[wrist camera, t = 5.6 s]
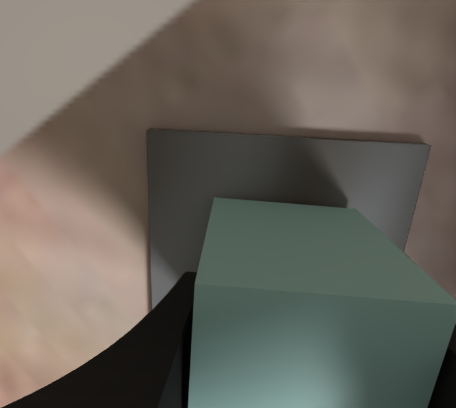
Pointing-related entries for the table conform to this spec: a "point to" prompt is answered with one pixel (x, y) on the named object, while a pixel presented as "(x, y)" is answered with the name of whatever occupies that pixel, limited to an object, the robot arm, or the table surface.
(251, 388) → the mint green cube
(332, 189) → the peg stand
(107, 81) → the table surface
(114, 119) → the table surface
